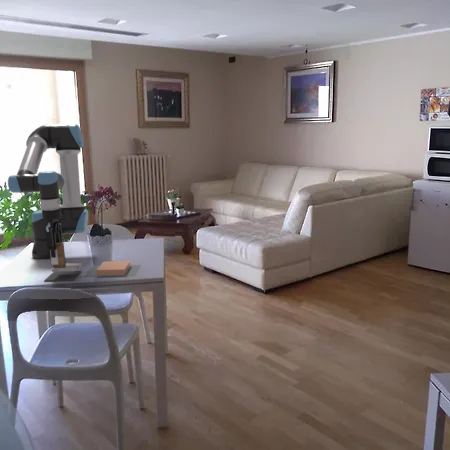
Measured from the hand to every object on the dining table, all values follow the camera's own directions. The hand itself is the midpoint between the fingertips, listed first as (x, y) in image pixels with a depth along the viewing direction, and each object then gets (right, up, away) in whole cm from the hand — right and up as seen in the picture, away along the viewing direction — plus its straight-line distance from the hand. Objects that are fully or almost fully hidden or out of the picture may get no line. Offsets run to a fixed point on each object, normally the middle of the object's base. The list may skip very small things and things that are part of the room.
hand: (57, 262), depth 199 cm
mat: (+22, -5, +7) cm, 24 cm away
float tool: (+4, -3, +1) cm, 5 cm away
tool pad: (+2, -7, +2) cm, 7 cm away
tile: (+17, -3, +7) cm, 18 cm away
